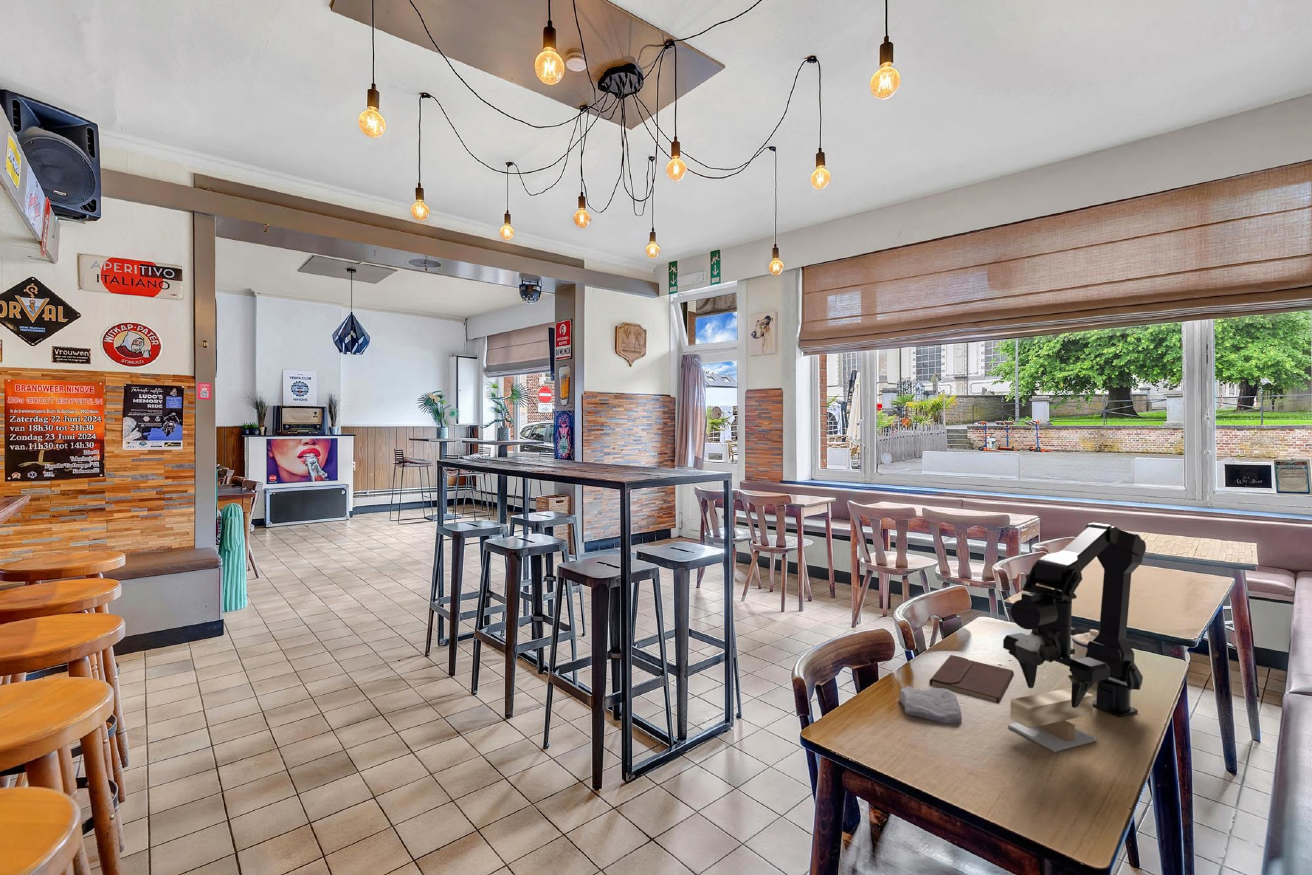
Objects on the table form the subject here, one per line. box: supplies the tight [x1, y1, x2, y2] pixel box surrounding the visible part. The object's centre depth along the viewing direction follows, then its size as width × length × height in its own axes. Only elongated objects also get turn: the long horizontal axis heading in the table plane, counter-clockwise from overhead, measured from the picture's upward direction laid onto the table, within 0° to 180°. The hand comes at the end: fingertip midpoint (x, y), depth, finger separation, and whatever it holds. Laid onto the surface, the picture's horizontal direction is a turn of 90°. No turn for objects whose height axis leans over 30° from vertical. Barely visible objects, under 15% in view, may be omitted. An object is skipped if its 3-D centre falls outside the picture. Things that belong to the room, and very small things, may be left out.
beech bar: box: [1009, 687, 1094, 728], centre depth 123 cm, size 18×4×4 cm, turn 109°
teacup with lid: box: [1071, 628, 1099, 683], centre depth 153 cm, size 12×9×12 cm
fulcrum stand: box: [1007, 720, 1097, 753], centre depth 123 cm, size 12×10×4 cm
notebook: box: [928, 654, 1015, 704], centre depth 149 cm, size 15×20×2 cm
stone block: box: [899, 685, 963, 724], centre depth 132 cm, size 12×5×10 cm
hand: (1051, 697), depth 123 cm, fingers open, 9 cm apart
